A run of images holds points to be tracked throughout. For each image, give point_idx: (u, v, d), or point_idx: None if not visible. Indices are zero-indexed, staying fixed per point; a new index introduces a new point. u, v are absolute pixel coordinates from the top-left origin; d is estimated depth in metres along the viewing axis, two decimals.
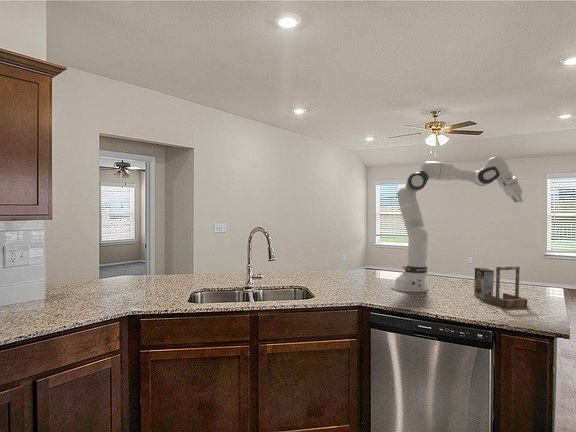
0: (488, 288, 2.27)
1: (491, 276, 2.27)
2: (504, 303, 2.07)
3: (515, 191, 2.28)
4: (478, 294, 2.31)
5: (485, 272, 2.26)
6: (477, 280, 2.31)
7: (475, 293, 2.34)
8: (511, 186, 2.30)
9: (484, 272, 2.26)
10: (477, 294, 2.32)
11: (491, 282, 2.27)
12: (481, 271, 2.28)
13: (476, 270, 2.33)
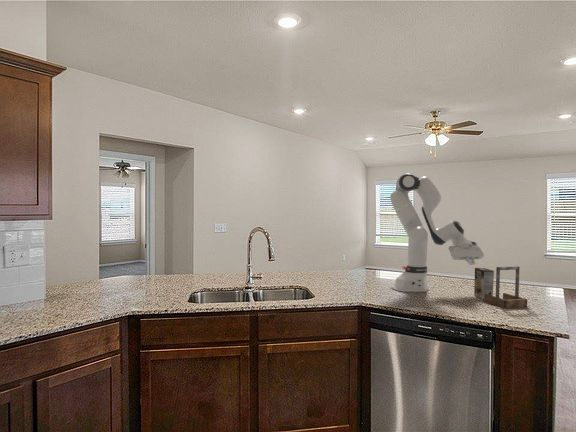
0: (488, 288, 2.27)
1: (491, 276, 2.27)
2: (504, 303, 2.07)
3: None
4: (478, 294, 2.31)
5: (485, 272, 2.26)
6: (477, 280, 2.31)
7: (475, 293, 2.34)
8: None
9: (484, 272, 2.26)
10: (477, 294, 2.32)
11: (491, 282, 2.27)
12: (481, 271, 2.28)
13: (476, 270, 2.33)
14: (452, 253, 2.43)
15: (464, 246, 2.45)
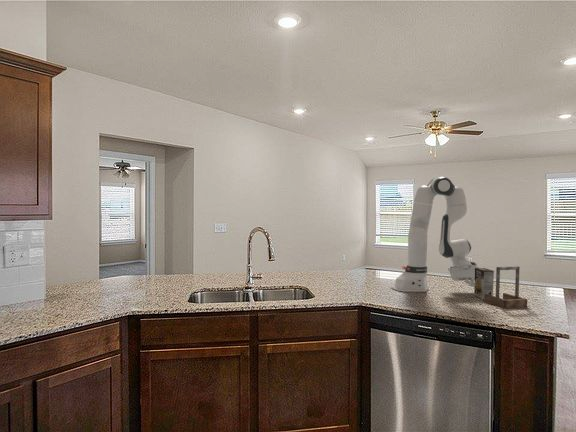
0: (488, 288, 2.27)
1: (491, 276, 2.27)
2: (504, 303, 2.07)
3: None
4: (478, 294, 2.31)
5: (485, 272, 2.26)
6: (477, 280, 2.31)
7: (475, 293, 2.34)
8: None
9: (484, 272, 2.26)
10: (477, 294, 2.32)
11: (491, 282, 2.27)
12: (481, 271, 2.28)
13: (476, 270, 2.33)
14: (452, 274, 2.43)
15: (464, 267, 2.45)
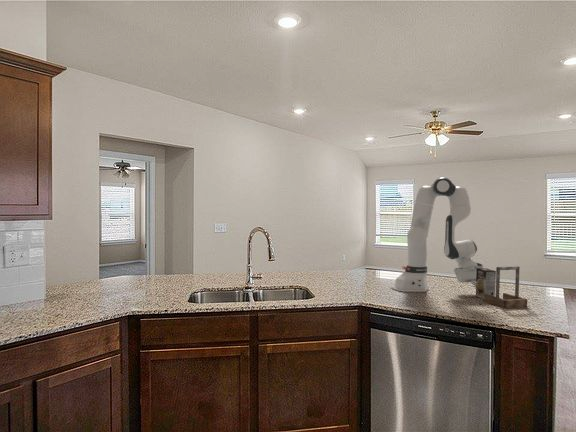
0: (490, 289, 2.25)
1: (493, 276, 2.25)
2: (504, 303, 2.07)
3: None
4: (480, 295, 2.29)
5: (487, 272, 2.25)
6: (479, 280, 2.30)
7: (477, 293, 2.33)
8: None
9: (486, 272, 2.25)
10: (479, 294, 2.30)
11: (493, 282, 2.26)
12: (483, 271, 2.27)
13: (478, 270, 2.32)
14: (458, 275, 2.38)
15: (470, 268, 2.40)
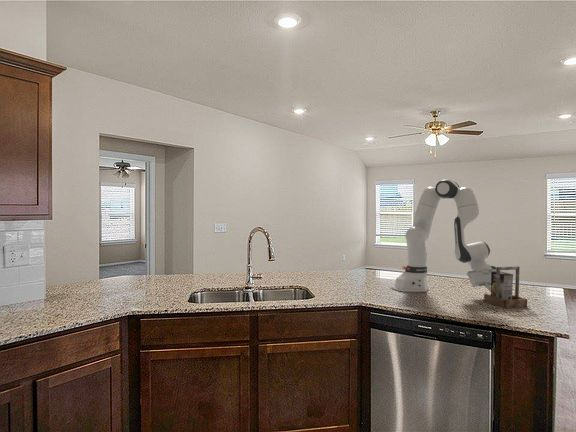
0: (507, 293, 2.15)
1: (510, 280, 2.15)
2: (504, 303, 2.07)
3: None
4: None
5: (505, 276, 2.14)
6: (495, 284, 2.19)
7: None
8: None
9: (504, 276, 2.14)
10: None
11: (510, 286, 2.15)
12: (500, 275, 2.16)
13: (493, 274, 2.20)
14: (471, 279, 2.27)
15: (484, 271, 2.29)
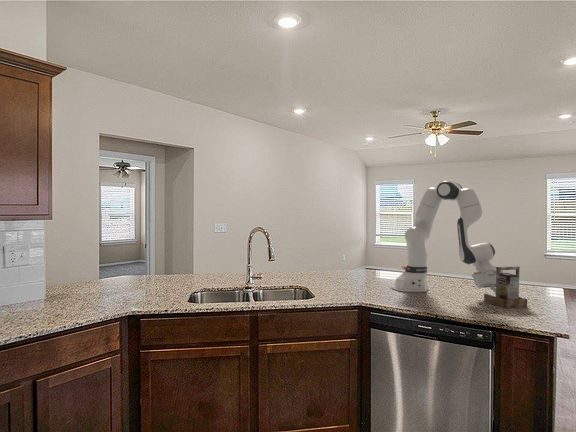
0: (513, 295, 2.11)
1: (517, 282, 2.11)
2: (504, 303, 2.07)
3: None
4: None
5: (511, 277, 2.10)
6: (501, 286, 2.15)
7: None
8: None
9: (510, 277, 2.10)
10: None
11: (517, 288, 2.11)
12: (506, 276, 2.12)
13: None
14: (476, 280, 2.23)
15: (489, 272, 2.25)
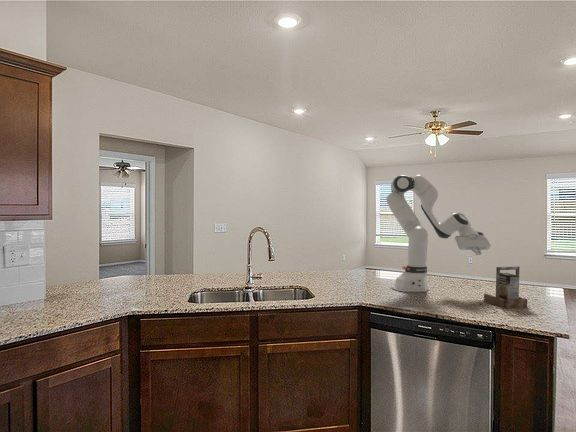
0: (513, 295, 2.11)
1: (517, 282, 2.11)
2: (504, 303, 2.07)
3: None
4: None
5: (511, 277, 2.10)
6: (501, 286, 2.15)
7: None
8: None
9: (510, 277, 2.10)
10: None
11: (517, 288, 2.11)
12: (506, 276, 2.11)
13: None
14: (458, 243, 2.41)
15: (471, 236, 2.43)
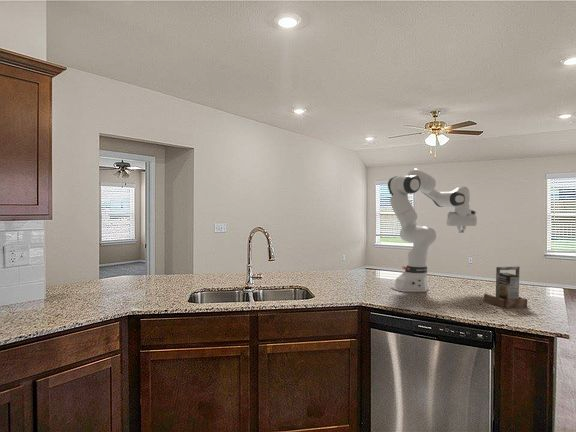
0: (513, 295, 2.11)
1: (517, 282, 2.11)
2: (504, 303, 2.07)
3: None
4: None
5: (511, 277, 2.10)
6: (501, 286, 2.15)
7: None
8: None
9: (510, 277, 2.10)
10: None
11: (517, 288, 2.11)
12: (506, 276, 2.11)
13: None
14: (448, 220, 2.62)
15: (462, 215, 2.62)
